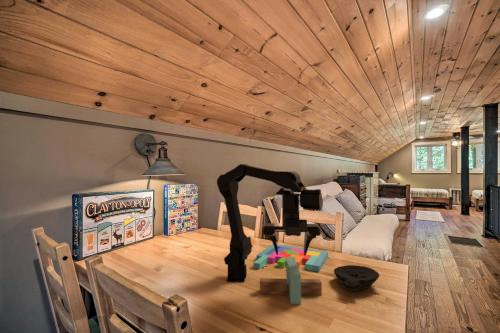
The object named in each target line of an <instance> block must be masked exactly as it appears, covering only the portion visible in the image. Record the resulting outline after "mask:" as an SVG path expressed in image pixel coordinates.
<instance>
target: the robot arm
mask: <svg viewBox="0 0 500 333" xmlns="http://www.w3.org/2000/svg"><path fill="white" fill-rule="evenodd" d="M246 176H247V177H250V178H255V179H258V180H259V179H260V180H265V181H267V182H271V183H273V184H275V185H277V186H278V187H281V188H279V190H278V191H277V192H275V195H277V196H281V207H282V208H281V211H282V212H281V214H282V215H281V223H282V224H281V225H275V223H273V222H272V223H270V222H269V223H267V222H266V223H265V222H264V224H263V226H262V234H263V236H266V238H270V240H271V242H272V244H273V245H274V248H275V251H276V254H277V255H278V248H277V244H278V243H277V242H278V241H277V235H276V233H284V235H285V236H287V237H291V236H293V237H294V236H295V237H301V235H302V233H304V238H303V239H304V241H303V248H304V256H305V255H306V253H307V250H308V249H309V246H310V244H311V242H312V241H313V239H316V238H317V237H320V236H321V235H322V234H321V228H320V226H318V224H316V223H308V220H307V219H301V218H300V208H302V209H303V210H304V211H305V210H307V211H318V212H319V211H323V207H324V206H323V205H324V199H323V195H322V189H321V188H317V189H307V187H306V186H305V184H304V183H303V182H302V179H301V175H300V174H299V173H298V172H296V171H285V170H283V171H282V170H281V171H280V170H279V171H278V170H271V169H267V168H261V167H257V166H253V165H249V164H247V163H240V164H238V165H237V166H235V167H234V168H232V169H231V170H229V171H227V172H225V173H223V174H220V175H219V176H218V177H217V180H216V184H217V188H218V191H219V193H220V194H221V195H222V197H223V198H224V203H225V209H226V213H227V219H228V224H229V229H230V230H229V231H230V241H229V253H228V254H227V255H226V256H225V257H224V258H223V261H224V264H225V265H226V266H227V277H226V282H228V283H229V282H231V283H232V282H233V283H234V282H235V283H237V282H239V283H240V282H241V283H244V282H245V281H246V279H247V276H248V275H247V264H246V260H247V259H248V257H249V255H250V254H251V253H252V251H253V250H252V248H253V244H252V238H251V236H247V235H246V234H245V231H244V226H243V221H242V216H241V211H240V206H239V200H238V192H239V183H240V182H241V181H243V180H244V179H245V177H246Z"/></svg>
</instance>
